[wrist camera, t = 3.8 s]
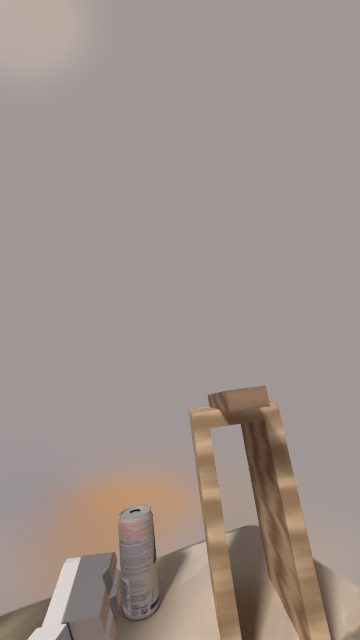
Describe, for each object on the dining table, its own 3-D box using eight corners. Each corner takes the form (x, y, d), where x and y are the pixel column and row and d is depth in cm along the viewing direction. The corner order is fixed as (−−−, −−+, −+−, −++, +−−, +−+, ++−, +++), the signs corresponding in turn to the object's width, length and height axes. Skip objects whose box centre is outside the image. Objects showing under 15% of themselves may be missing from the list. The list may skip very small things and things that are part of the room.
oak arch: (338, 674, 26) (277, 401, 34) (229, 692, 26) (191, 413, 33) (281, 573, 42) (247, 401, 49) (211, 584, 41) (188, 409, 49)
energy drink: (158, 590, 42) (150, 502, 45) (162, 615, 37) (153, 514, 40) (123, 600, 40) (118, 509, 44) (122, 627, 35) (117, 522, 39)
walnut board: (270, 406, 26) (265, 385, 27) (229, 411, 26) (226, 390, 26) (232, 403, 45) (230, 391, 46) (209, 407, 45) (207, 395, 46)
